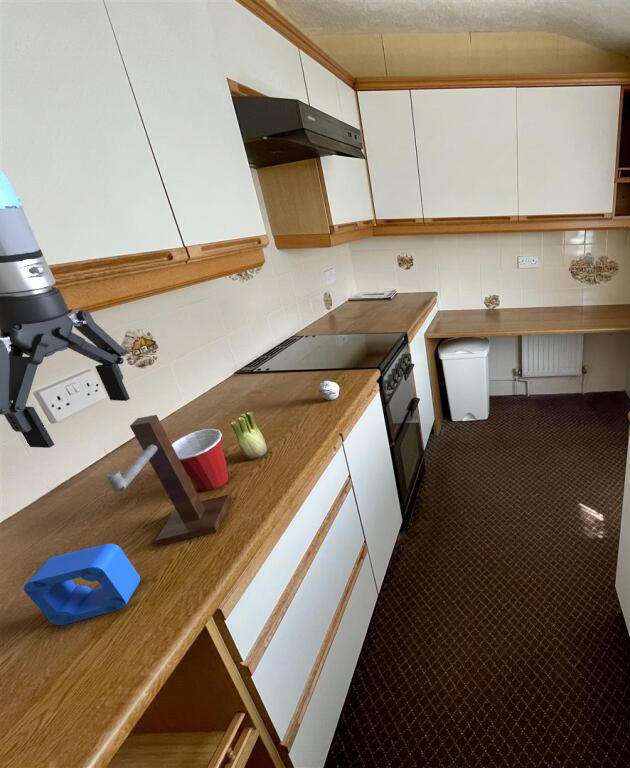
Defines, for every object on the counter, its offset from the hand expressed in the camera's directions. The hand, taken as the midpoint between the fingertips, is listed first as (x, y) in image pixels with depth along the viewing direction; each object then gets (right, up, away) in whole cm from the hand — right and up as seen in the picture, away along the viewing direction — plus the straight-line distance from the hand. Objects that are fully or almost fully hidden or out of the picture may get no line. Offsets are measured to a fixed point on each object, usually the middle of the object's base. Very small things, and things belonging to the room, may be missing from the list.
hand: (85, 420), depth 65 cm
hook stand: (+4, -25, +16) cm, 30 cm away
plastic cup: (-2, -18, +31) cm, 36 cm away
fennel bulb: (+2, -13, +41) cm, 43 cm away
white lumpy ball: (+10, +1, +68) cm, 69 cm away
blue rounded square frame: (0, -31, +3) cm, 31 cm away
